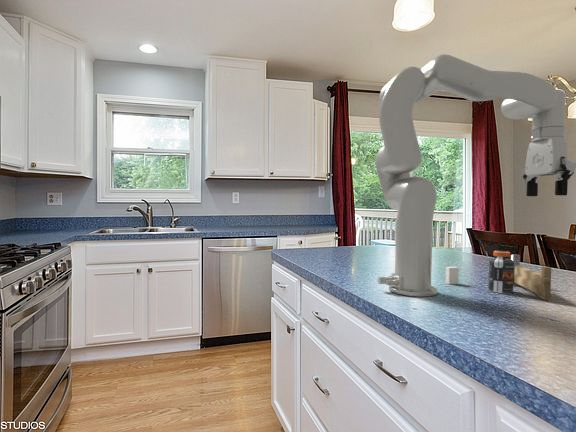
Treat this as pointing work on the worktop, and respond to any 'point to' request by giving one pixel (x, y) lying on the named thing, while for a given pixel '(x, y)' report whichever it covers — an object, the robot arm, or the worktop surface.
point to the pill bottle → (501, 273)
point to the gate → (535, 280)
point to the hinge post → (516, 263)
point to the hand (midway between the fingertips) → (545, 195)
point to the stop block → (452, 275)
